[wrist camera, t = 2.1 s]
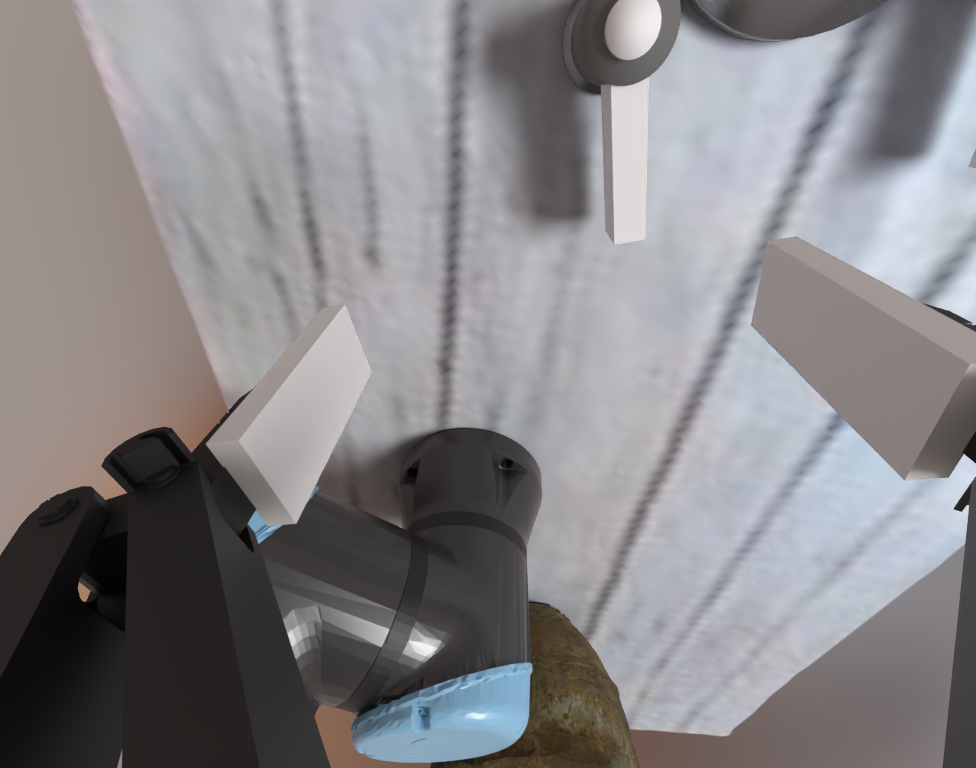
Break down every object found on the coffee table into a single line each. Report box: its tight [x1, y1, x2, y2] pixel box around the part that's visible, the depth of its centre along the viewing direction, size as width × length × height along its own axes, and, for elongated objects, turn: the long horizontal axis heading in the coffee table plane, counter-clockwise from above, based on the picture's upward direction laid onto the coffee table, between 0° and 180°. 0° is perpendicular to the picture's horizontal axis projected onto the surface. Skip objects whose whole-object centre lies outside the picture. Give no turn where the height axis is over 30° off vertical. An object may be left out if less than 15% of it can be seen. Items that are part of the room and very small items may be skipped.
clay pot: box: [430, 603, 641, 768], centre depth 54 cm, size 25×25×25 cm
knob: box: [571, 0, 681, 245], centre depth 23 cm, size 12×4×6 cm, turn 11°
